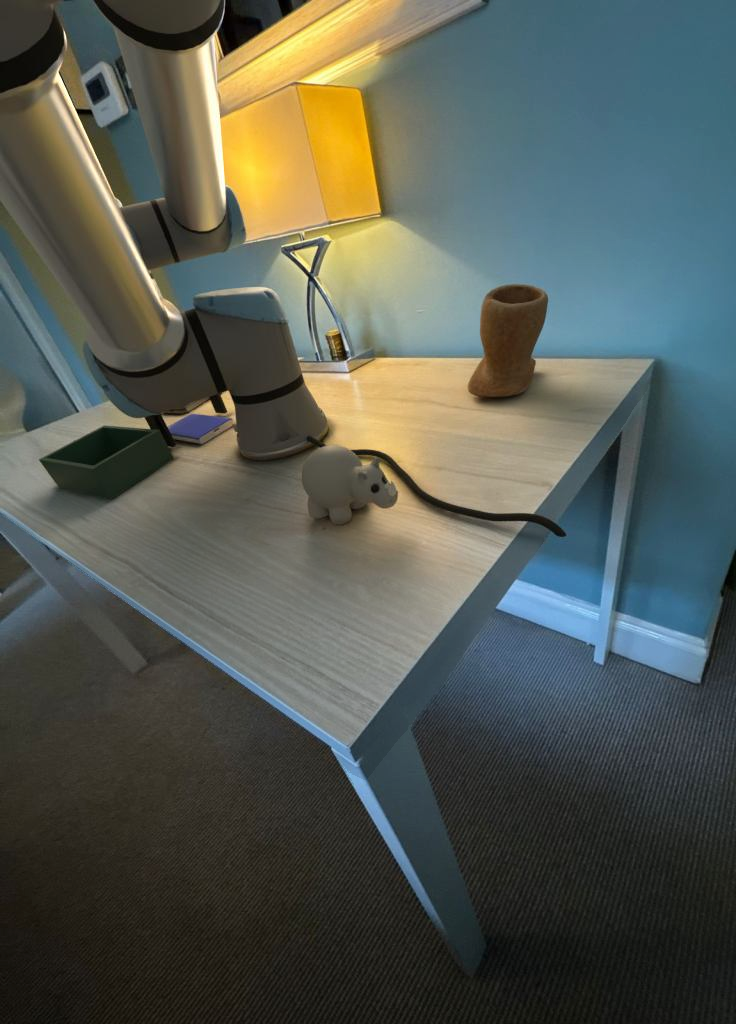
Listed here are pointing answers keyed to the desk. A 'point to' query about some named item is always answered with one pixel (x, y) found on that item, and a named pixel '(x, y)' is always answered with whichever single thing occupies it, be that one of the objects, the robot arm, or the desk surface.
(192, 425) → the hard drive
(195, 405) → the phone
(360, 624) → the desk surface
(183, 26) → the robot arm
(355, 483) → the chubby cartoon animal
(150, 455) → the tub
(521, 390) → the brown clay boot vase
